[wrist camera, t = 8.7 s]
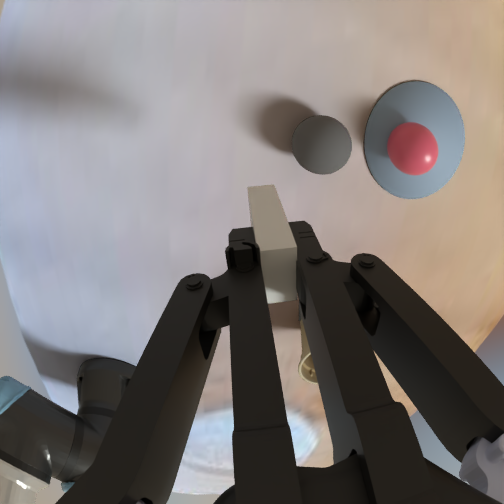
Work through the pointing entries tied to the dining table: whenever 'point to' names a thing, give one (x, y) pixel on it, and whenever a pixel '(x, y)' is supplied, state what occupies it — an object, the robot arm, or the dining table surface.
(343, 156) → the grey ball
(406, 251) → the dining table surface
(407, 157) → the cranberry ball
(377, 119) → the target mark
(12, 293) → the dining table surface
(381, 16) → the dining table surface
